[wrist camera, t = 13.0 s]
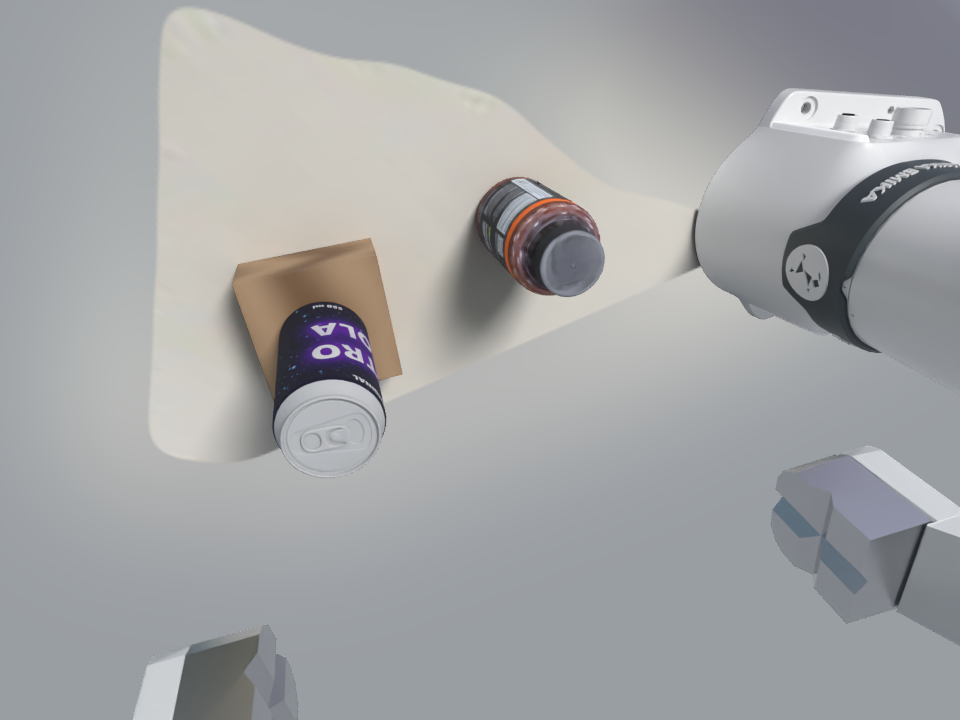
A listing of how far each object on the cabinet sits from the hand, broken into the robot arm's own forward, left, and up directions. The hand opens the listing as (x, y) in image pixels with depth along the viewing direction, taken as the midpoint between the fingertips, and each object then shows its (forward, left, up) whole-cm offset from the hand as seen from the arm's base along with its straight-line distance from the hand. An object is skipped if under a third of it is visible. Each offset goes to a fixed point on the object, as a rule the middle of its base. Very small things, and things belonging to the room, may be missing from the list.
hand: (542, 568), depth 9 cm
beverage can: (+5, +10, -31) cm, 33 cm away
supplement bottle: (-10, +6, -35) cm, 37 cm away
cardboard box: (+5, +10, -35) cm, 37 cm away
